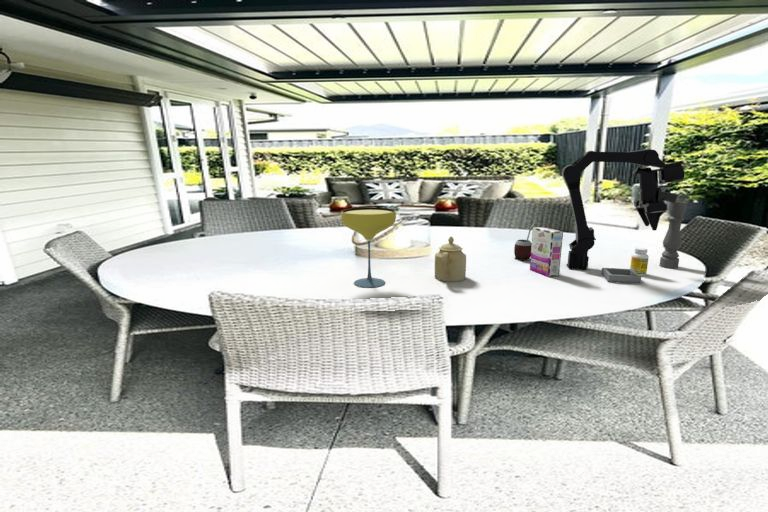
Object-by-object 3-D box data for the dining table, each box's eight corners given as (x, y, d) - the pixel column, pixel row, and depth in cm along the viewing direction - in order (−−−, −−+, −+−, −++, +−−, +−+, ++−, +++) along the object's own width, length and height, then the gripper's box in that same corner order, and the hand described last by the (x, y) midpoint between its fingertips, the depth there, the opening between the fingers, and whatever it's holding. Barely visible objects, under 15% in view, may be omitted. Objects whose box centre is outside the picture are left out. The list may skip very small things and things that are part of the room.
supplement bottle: (634, 271, 165) (637, 246, 162) (649, 274, 160) (652, 248, 158) (626, 273, 162) (629, 248, 159) (641, 277, 157) (645, 250, 155)
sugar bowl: (472, 284, 150) (474, 241, 146) (440, 285, 148) (441, 242, 145) (460, 272, 164) (462, 233, 160) (431, 273, 163) (432, 233, 159)
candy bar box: (560, 276, 159) (564, 231, 155) (548, 277, 157) (552, 232, 154) (539, 268, 169) (543, 226, 165) (528, 269, 168) (532, 227, 164)
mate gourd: (513, 260, 181) (515, 224, 178) (514, 256, 188) (516, 221, 185) (532, 262, 179) (535, 225, 175) (532, 257, 186) (535, 222, 183)
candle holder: (681, 268, 168) (692, 202, 162) (665, 268, 168) (675, 203, 162) (671, 264, 174) (681, 201, 168) (655, 264, 174) (664, 201, 168)
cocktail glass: (356, 273, 163) (355, 206, 157) (403, 278, 157) (403, 208, 151) (333, 287, 147) (331, 213, 141) (384, 293, 140) (384, 215, 134)
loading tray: (608, 282, 151) (609, 275, 151) (601, 274, 161) (602, 267, 160) (640, 283, 149) (641, 276, 149) (631, 275, 159) (632, 269, 158)
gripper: (684, 183, 146) (685, 230, 149) (666, 179, 163) (667, 221, 166) (646, 188, 149) (648, 233, 152) (632, 184, 166) (634, 225, 169)
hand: (650, 228), depth 160 cm, fingers open, 9 cm apart
